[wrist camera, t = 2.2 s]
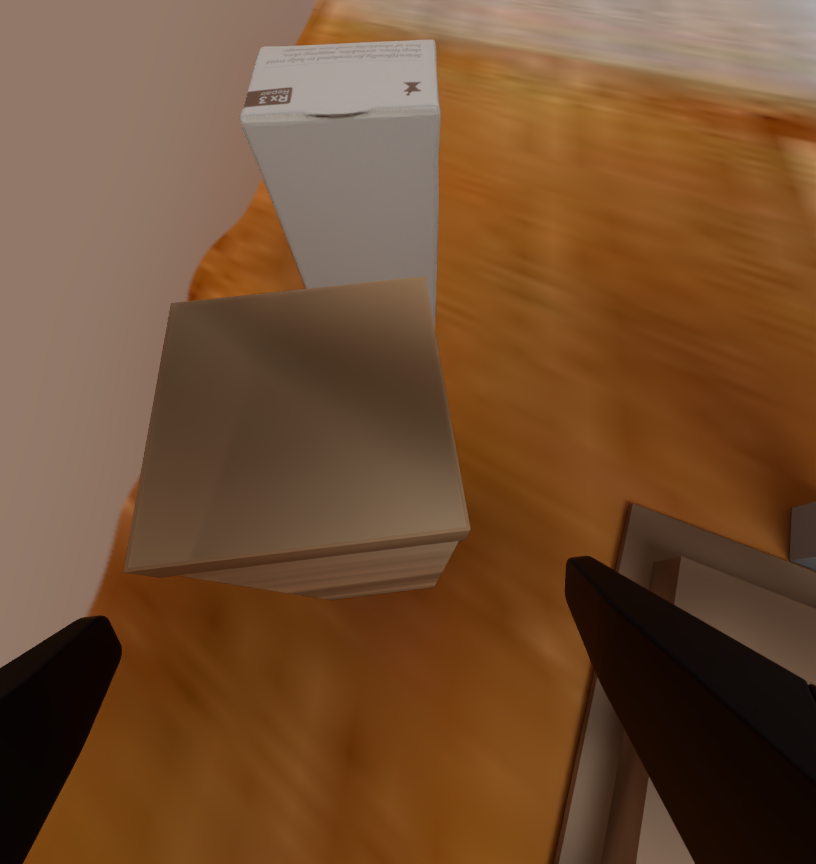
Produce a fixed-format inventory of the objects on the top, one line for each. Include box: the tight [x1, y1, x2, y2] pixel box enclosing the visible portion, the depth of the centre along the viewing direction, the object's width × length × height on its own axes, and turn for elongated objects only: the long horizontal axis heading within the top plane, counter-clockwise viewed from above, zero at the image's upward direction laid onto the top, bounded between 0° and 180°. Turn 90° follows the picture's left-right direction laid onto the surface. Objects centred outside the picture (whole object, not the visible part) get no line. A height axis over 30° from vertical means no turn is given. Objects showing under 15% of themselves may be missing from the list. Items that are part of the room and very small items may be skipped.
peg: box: [123, 276, 471, 600], centre depth 12 cm, size 5×5×13 cm
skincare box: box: [240, 40, 440, 328], centre depth 18 cm, size 6×4×12 cm
